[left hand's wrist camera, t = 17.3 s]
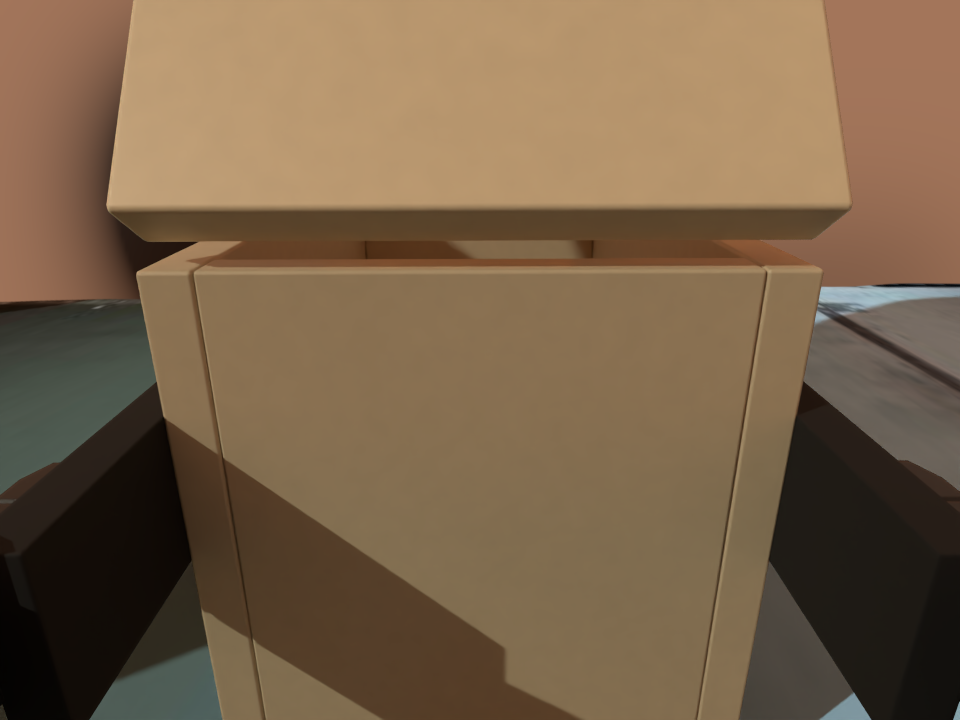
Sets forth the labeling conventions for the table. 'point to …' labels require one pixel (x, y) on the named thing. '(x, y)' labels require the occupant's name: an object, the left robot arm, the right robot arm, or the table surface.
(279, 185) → the lid
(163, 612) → the table surface
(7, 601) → the left robot arm
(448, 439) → the chest
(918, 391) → the table surface
